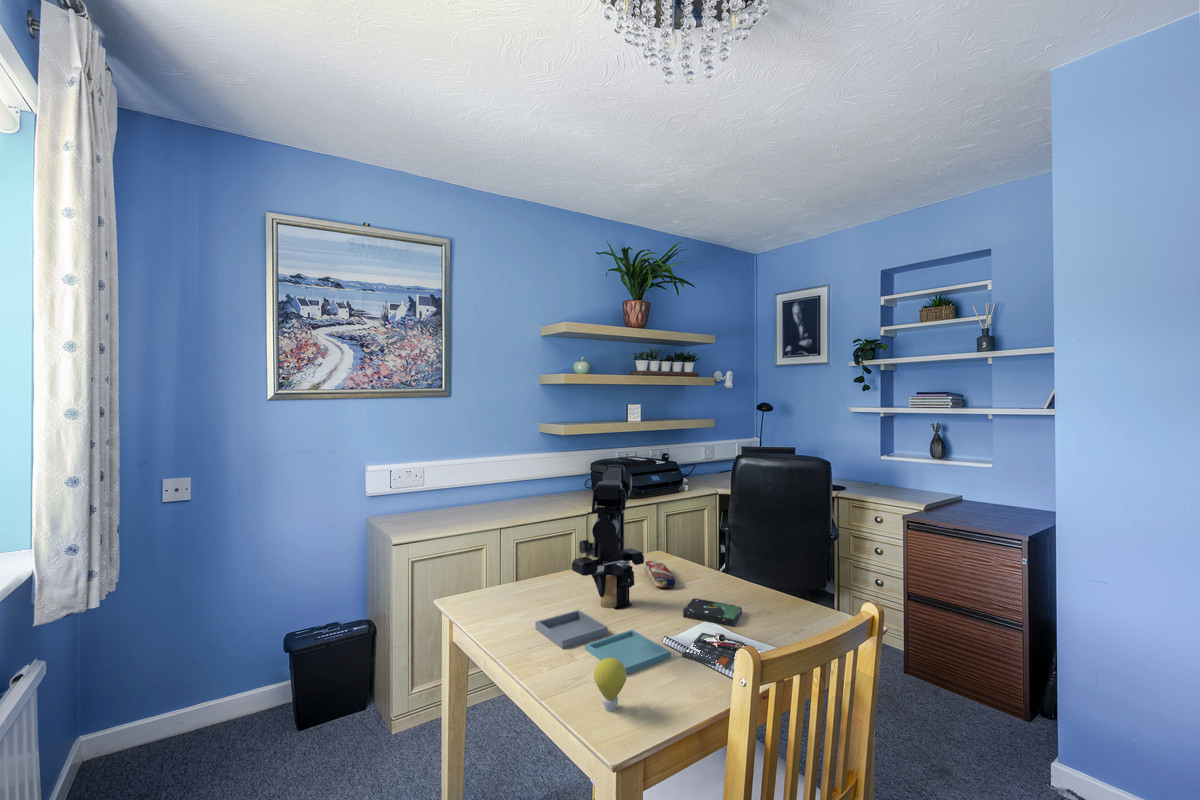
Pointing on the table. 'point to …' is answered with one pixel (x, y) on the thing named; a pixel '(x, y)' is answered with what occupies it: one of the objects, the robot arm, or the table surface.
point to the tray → (629, 650)
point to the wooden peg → (610, 592)
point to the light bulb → (610, 681)
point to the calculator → (713, 651)
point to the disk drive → (712, 612)
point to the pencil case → (659, 574)
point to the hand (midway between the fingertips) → (608, 595)
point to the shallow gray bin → (571, 628)
